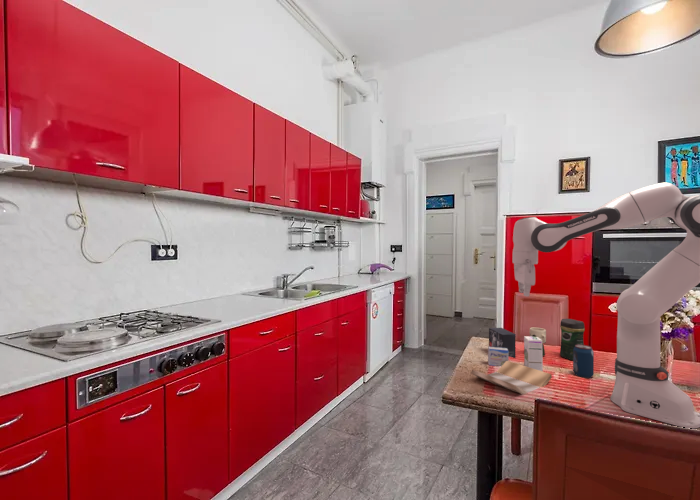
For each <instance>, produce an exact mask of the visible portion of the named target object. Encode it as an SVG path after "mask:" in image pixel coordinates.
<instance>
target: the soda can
mask: <svg viewBox="0 0 700 500" xmlns="http://www.w3.org/2000/svg"><path fill="white" fill-rule="evenodd" d="M594 355H595V352H594V350H593V348H592V346H591V345H587V344H584V345H575V347H574V349H573V360H572V372H573V373H574V374H575V375H574V376H577V377H579V378H585V379H591V378H592V377H593V376H594V373H595V372H594V371H595V370H594V366H595V365H594V363H595V362H594V357H595V356H594Z"/></svg>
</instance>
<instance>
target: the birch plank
mask: <svg viewBox="0 0 700 500" xmlns="http://www.w3.org/2000/svg"><path fill="white" fill-rule="evenodd" d="M470 374H472V375H473V376H475V377H477V378H478V379H480V380H484V381H486V382H488V383H492V384H493V385H496V386H499V387H502V388H505V389H507V390H510V391H513V392H515V393H517V394H521V395H526V394H528V393H529V392H526V391H524V390H523V389H521V388H520V387H518V386H516V385H514V384H511V383H508V382H505V381H503V380H500V379H497V378H494V377H492V376H489V375H488V374H485V373H483V372H481V371H478V370H475V369H471V370H470Z"/></svg>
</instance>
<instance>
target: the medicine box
mask: <svg viewBox="0 0 700 500" xmlns="http://www.w3.org/2000/svg"><path fill="white" fill-rule="evenodd" d="M509 358H510V357H509V351H508V349H507V348H499V347H489V346H488V347H487V363H488V366H492V367H493V366H494V367H501V366H502V365H503V364H504V363H505V362H506V361H509Z"/></svg>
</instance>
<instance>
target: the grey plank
mask: <svg viewBox="0 0 700 500" xmlns="http://www.w3.org/2000/svg"><path fill="white" fill-rule="evenodd" d="M487 375H489V376H492V377H494V378H497V379H500V380H503V381H505V382H508V383H511V384H514V385H516V386H518V387H520V388H521V389H523V390H524V391H526V392H528V393H531V392H533V391H535V390H537V389H541V387H538V386H536V385H533V384H530V383H527V382H524V381H521V380H518V379H515V378H512V377H509V376H507V375H504V374H501V373H498V372H497V371H494V372H492V373H489V374H487Z"/></svg>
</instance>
